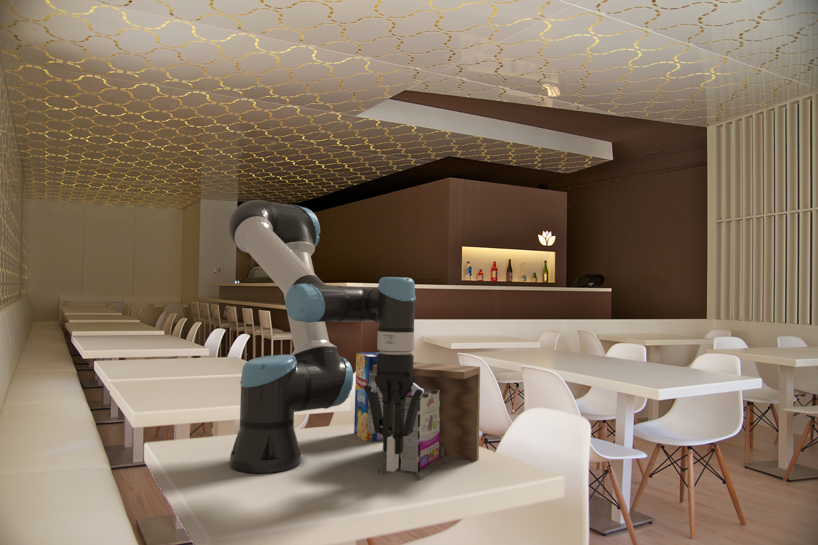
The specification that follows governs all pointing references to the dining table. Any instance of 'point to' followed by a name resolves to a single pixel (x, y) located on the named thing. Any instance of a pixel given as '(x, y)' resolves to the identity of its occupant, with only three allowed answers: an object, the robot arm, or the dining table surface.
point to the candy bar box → (422, 433)
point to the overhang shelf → (451, 410)
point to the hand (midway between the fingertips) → (392, 469)
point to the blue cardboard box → (365, 397)
